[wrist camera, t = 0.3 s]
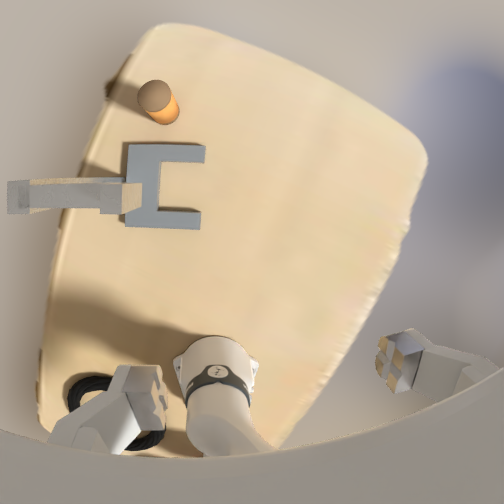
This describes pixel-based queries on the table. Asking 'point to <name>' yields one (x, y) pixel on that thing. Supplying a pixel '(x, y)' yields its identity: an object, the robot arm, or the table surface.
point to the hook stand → (74, 194)
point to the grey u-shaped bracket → (148, 173)
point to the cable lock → (103, 384)
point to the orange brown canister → (158, 102)
